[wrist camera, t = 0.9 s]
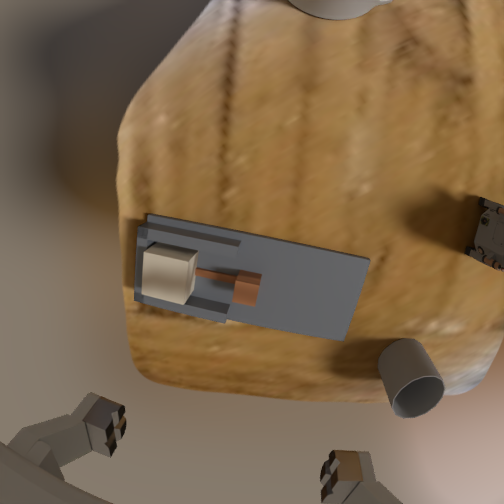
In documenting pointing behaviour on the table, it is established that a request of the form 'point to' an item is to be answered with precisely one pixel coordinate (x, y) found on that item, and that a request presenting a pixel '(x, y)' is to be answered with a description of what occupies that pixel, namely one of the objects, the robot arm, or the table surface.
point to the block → (189, 275)
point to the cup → (410, 378)
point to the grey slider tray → (272, 281)
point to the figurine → (489, 236)
